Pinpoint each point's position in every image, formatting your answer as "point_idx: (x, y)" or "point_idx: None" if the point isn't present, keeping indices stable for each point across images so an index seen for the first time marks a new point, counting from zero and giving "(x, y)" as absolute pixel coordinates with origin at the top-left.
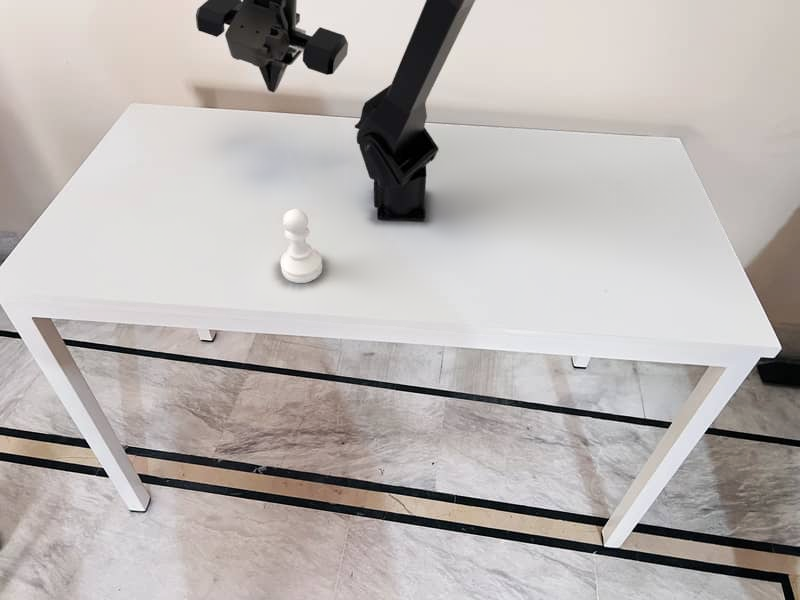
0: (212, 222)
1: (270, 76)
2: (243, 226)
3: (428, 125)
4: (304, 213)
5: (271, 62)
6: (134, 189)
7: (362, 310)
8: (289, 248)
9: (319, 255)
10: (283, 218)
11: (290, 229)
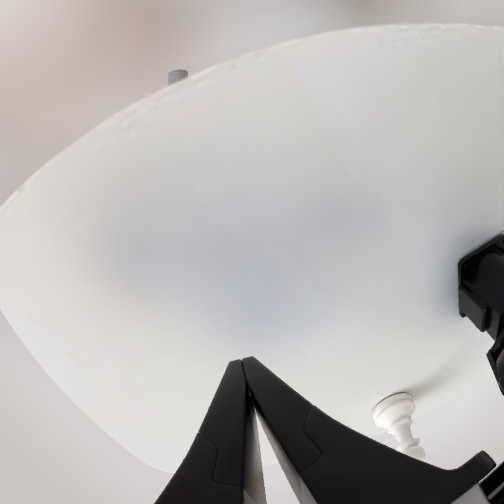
0: None
1: (256, 431)
2: None
3: (457, 27)
4: (423, 457)
5: (256, 471)
6: (121, 397)
7: (445, 400)
8: (391, 433)
9: (413, 405)
10: None
11: None
